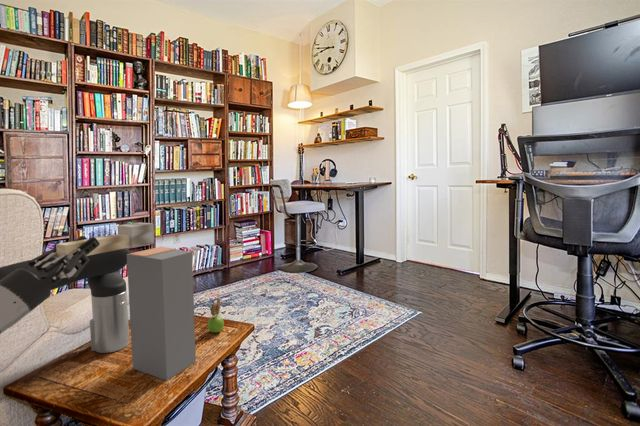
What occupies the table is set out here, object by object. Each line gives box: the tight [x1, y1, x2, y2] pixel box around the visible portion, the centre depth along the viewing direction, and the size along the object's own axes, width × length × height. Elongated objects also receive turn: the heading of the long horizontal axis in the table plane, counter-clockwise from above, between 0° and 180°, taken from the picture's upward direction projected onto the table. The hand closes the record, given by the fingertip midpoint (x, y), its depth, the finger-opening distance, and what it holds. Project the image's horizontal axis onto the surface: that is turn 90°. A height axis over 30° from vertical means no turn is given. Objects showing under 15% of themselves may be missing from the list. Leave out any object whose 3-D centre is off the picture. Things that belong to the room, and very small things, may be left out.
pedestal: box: [126, 246, 197, 381], centre depth 95 cm, size 10×13×32 cm
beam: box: [55, 221, 155, 259], centre depth 79 cm, size 20×5×5 cm, turn 156°
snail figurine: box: [206, 293, 225, 334], centre depth 117 cm, size 5×6×12 cm
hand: (90, 239), depth 75 cm, fingers closed on beam, 3 cm apart
